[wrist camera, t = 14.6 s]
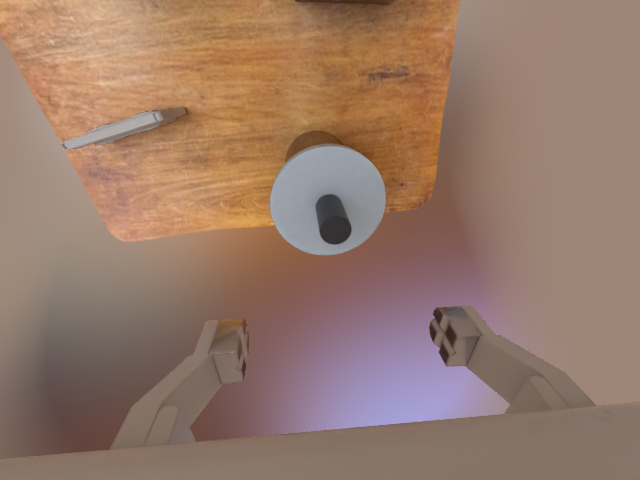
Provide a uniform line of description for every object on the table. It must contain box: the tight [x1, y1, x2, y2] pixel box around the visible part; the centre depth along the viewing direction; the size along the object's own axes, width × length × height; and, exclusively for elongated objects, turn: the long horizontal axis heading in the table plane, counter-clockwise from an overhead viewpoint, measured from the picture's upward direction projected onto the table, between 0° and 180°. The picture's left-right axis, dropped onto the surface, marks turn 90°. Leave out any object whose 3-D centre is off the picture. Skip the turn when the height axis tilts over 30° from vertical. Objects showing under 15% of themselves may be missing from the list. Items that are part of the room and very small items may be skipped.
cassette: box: [60, 107, 187, 151], centre depth 32 cm, size 12×2×8 cm, turn 105°
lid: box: [270, 144, 386, 255], centre depth 24 cm, size 11×11×6 cm
